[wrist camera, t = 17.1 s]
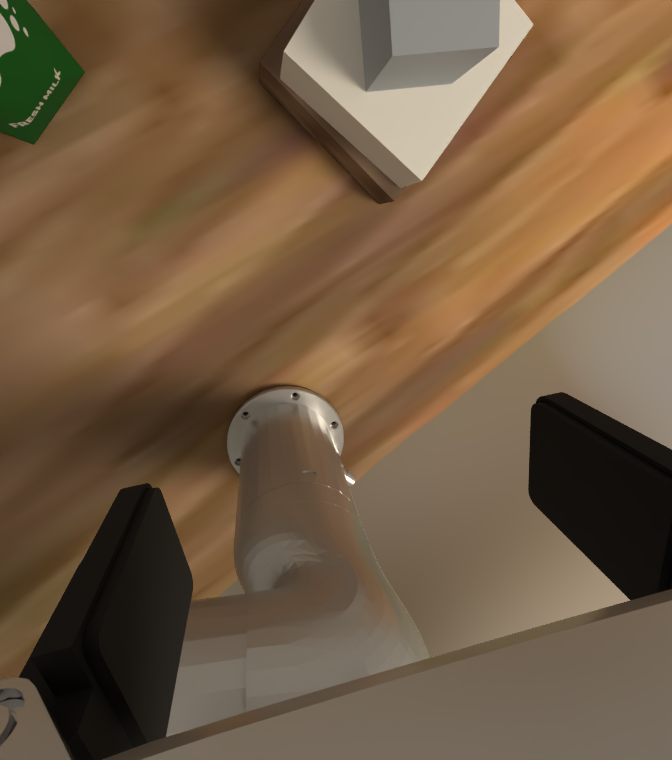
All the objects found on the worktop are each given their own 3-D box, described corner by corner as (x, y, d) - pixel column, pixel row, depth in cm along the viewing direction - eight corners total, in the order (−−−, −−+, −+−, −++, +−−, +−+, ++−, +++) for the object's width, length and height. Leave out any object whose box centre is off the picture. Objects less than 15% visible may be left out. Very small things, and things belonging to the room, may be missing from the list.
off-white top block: (493, 54, 32) (533, 24, 27) (399, 187, 34) (422, 181, 30) (378, -83, 28) (402, -145, 23) (279, 78, 30) (283, 51, 26)
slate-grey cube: (449, -30, 26) (501, -103, 20) (451, 83, 28) (499, 46, 22) (356, -24, 25) (383, -98, 19) (365, 92, 27) (392, 56, 22)
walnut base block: (480, 78, 37) (511, 56, 32) (378, 204, 39) (394, 201, 34) (369, -70, 32) (387, -120, 27) (259, 84, 34) (259, 61, 30)
